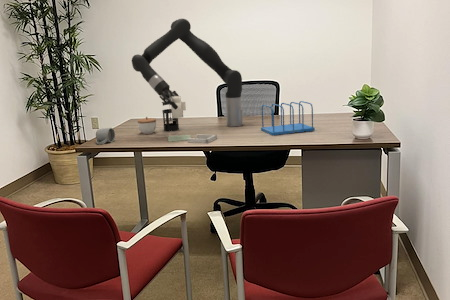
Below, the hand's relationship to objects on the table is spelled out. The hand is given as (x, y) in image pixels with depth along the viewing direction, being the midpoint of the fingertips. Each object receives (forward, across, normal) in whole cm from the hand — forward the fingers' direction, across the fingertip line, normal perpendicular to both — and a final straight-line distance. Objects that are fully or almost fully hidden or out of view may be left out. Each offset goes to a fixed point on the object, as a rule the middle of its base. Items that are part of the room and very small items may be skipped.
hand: (179, 107), depth 238 cm
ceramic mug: (-14, -17, +39) cm, 45 cm away
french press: (-1, +22, +26) cm, 34 cm away
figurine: (+3, 0, +5) cm, 6 cm away
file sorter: (+47, +31, -23) cm, 61 cm away
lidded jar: (-8, +11, +33) cm, 35 cm away
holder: (+21, -2, +3) cm, 22 cm away
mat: (+11, 0, +13) cm, 17 cm away
